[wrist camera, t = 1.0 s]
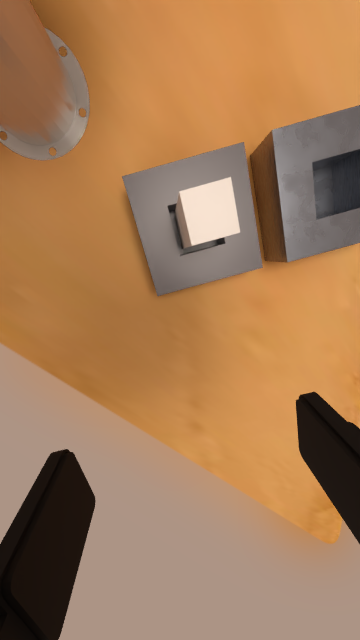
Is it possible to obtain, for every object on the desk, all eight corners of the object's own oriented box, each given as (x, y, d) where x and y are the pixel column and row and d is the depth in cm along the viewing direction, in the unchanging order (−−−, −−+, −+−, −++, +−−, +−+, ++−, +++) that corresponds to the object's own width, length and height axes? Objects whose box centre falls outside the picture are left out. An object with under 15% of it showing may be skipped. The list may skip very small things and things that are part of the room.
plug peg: (174, 216, 28) (179, 191, 17) (204, 208, 28) (230, 176, 17) (182, 248, 29) (191, 245, 18) (211, 240, 29) (240, 232, 18)
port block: (250, 155, 28) (274, 127, 22) (353, 126, 27) (408, 89, 21) (265, 260, 31) (289, 262, 25) (356, 236, 31) (403, 231, 25)
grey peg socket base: (129, 189, 28) (122, 176, 23) (230, 161, 28) (243, 141, 23) (158, 289, 32) (157, 296, 27) (248, 265, 32) (262, 267, 27)
